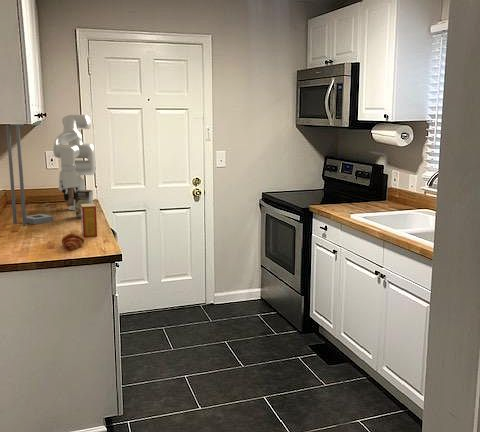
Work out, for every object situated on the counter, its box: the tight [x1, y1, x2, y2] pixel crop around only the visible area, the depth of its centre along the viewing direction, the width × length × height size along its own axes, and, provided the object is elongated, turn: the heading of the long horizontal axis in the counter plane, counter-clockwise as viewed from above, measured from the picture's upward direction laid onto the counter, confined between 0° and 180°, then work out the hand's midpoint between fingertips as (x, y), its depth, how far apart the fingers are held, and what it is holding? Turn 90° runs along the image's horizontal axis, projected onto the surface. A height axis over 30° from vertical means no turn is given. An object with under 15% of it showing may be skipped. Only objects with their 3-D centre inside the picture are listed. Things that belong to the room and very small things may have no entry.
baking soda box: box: [80, 202, 98, 239], centre depth 268 cm, size 10×6×16 cm
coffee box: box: [75, 189, 94, 219], centre depth 317 cm, size 9×6×16 cm
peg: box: [66, 188, 74, 207], centre depth 304 cm, size 4×4×10 cm
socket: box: [26, 213, 54, 225], centre depth 303 cm, size 12×12×3 cm
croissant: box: [61, 233, 85, 251], centre depth 246 cm, size 21×10×8 cm, turn 10°
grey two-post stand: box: [5, 120, 41, 227], centre depth 295 cm, size 14×12×57 cm
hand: (70, 199), depth 304 cm, fingers closed on peg, 4 cm apart
